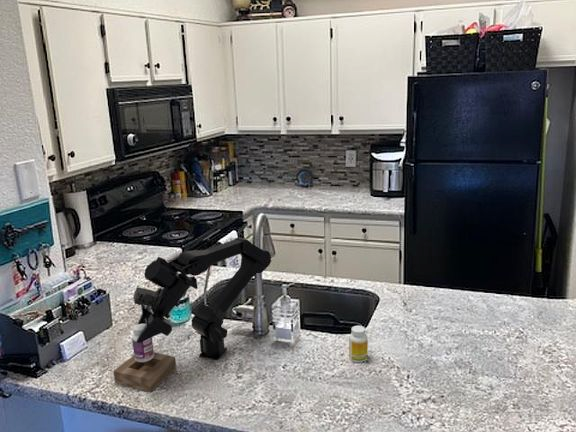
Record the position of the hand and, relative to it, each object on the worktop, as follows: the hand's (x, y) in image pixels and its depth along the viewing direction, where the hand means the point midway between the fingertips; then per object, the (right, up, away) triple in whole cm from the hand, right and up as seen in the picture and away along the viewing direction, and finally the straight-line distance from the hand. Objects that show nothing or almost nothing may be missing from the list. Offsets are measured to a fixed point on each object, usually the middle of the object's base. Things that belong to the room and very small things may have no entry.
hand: (136, 337), depth 144 cm
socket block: (+2, -12, +4) cm, 13 cm away
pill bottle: (+2, -6, +2) cm, 7 cm away
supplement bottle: (+63, -8, +9) cm, 64 cm away
